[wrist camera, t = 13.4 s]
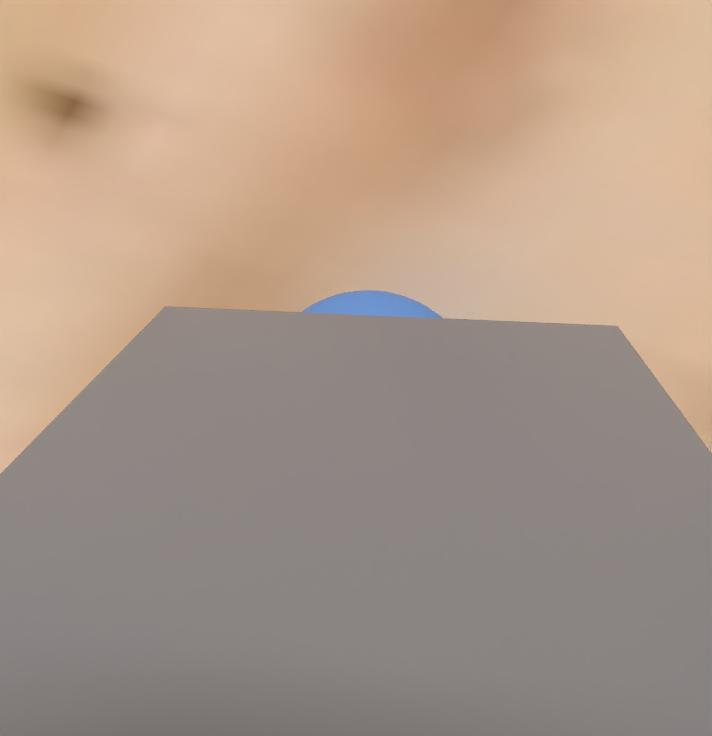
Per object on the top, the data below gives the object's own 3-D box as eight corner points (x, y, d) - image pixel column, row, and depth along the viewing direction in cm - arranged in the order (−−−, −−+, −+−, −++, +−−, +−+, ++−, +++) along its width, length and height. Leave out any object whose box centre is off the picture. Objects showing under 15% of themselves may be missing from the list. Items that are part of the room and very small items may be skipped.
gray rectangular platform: (617, 326, 8) (1332, 1299, 2) (526, 594, 12) (638, 1143, 6) (165, 306, 8) (-470, 949, 2) (231, 566, 13) (63, 1033, 7)
